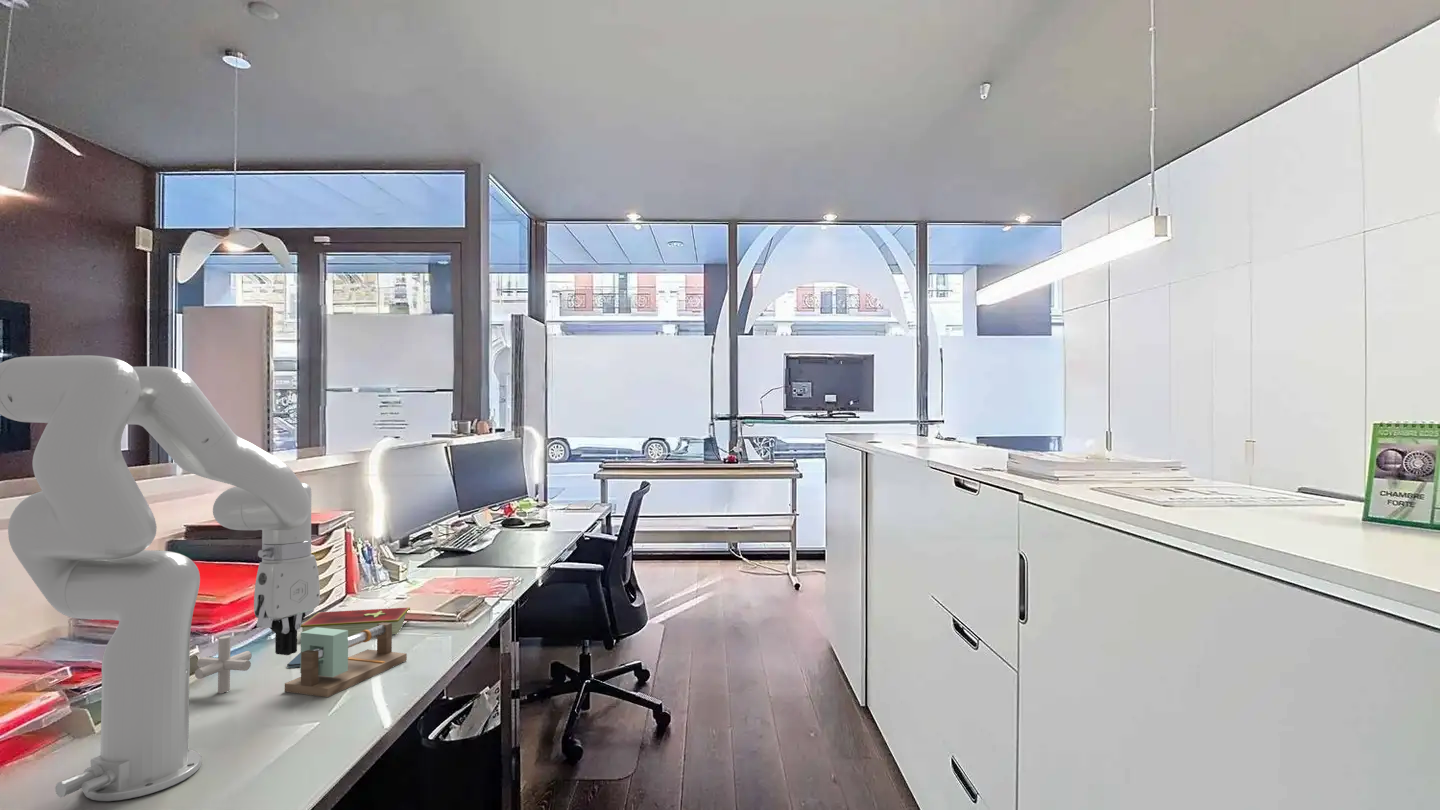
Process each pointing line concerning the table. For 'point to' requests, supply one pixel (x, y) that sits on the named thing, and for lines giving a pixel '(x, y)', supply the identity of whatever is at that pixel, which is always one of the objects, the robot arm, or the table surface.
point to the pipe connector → (223, 664)
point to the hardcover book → (357, 620)
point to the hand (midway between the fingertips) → (286, 653)
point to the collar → (328, 649)
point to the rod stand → (358, 664)
